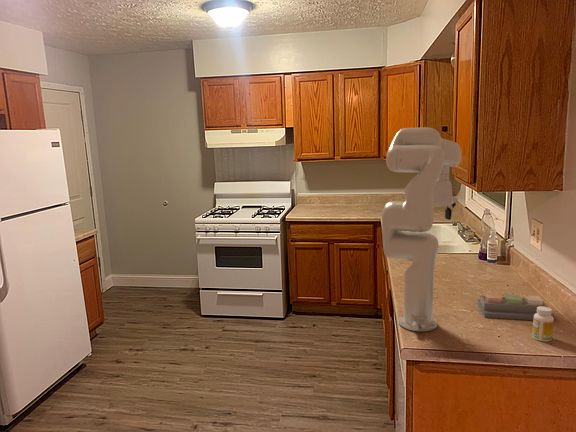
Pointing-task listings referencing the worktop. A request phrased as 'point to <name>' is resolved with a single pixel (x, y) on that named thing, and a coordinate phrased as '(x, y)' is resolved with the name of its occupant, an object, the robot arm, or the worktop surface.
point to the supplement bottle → (543, 324)
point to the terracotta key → (493, 298)
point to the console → (508, 309)
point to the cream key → (533, 300)
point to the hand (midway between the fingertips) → (437, 219)
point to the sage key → (513, 299)
